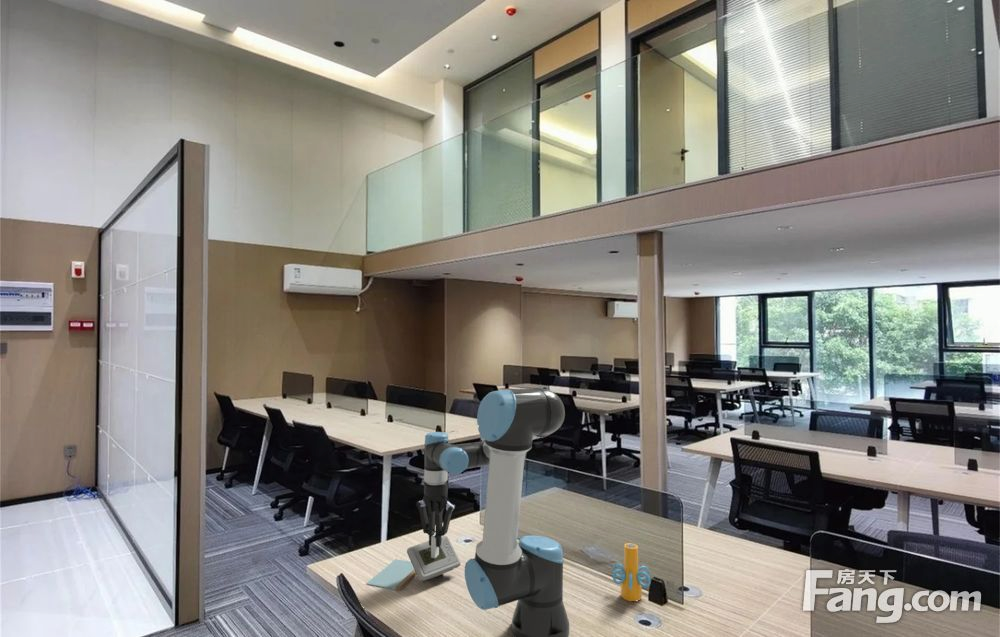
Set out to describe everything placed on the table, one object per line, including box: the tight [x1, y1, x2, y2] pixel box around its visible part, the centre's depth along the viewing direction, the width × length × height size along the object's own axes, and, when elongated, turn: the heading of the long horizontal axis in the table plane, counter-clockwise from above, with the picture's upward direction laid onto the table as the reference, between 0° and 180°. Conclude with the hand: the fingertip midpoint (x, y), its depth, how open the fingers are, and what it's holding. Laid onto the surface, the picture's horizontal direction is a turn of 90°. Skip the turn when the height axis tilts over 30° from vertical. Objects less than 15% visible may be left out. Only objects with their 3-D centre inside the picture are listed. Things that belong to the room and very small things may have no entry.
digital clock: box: [406, 535, 462, 583], centre depth 157 cm, size 16×9×11 cm, turn 124°
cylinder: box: [612, 542, 652, 602], centre depth 146 cm, size 12×10×15 cm
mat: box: [366, 558, 417, 591], centre depth 159 cm, size 12×18×1 cm, turn 162°
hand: (434, 556), depth 156 cm, fingers closed
